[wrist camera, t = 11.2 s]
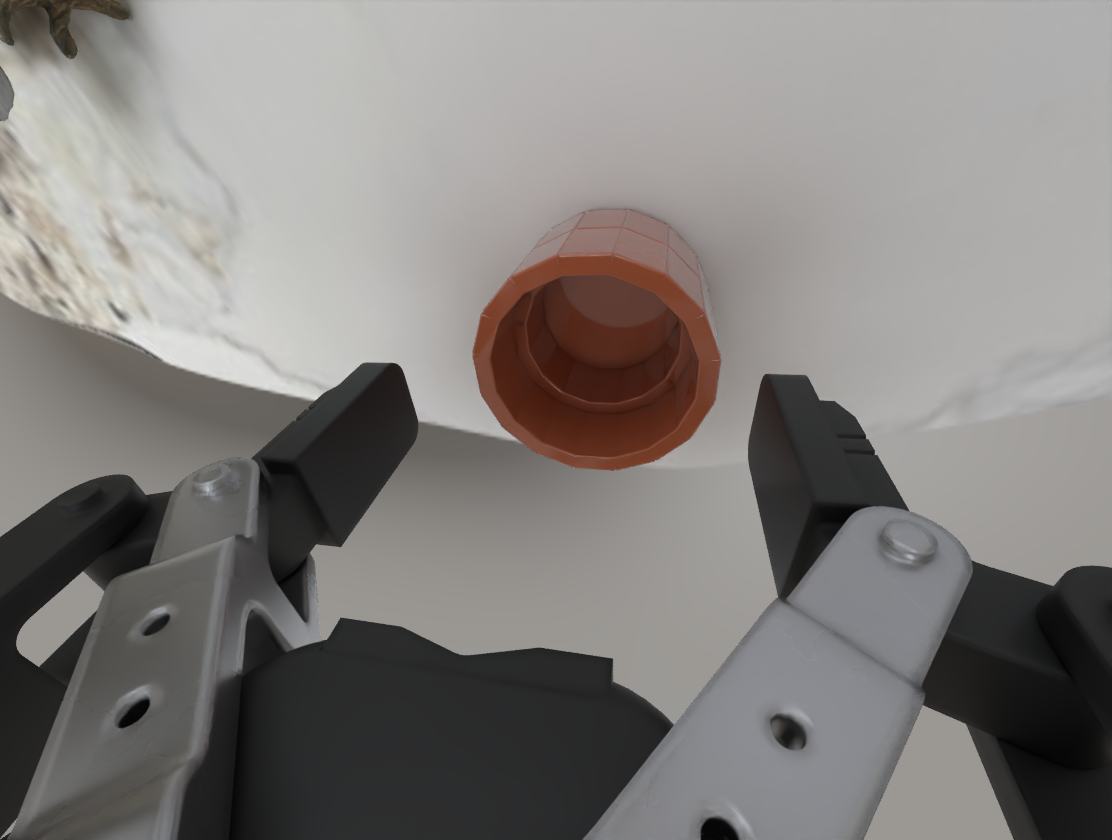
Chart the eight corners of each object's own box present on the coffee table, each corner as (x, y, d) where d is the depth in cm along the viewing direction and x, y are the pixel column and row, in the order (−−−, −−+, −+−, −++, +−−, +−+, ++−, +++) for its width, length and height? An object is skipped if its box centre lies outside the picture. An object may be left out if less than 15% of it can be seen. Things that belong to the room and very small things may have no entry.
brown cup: (717, 200, 13) (736, 249, 9) (697, 385, 17) (704, 478, 13) (511, 210, 14) (450, 257, 11) (532, 380, 18) (494, 462, 14)
